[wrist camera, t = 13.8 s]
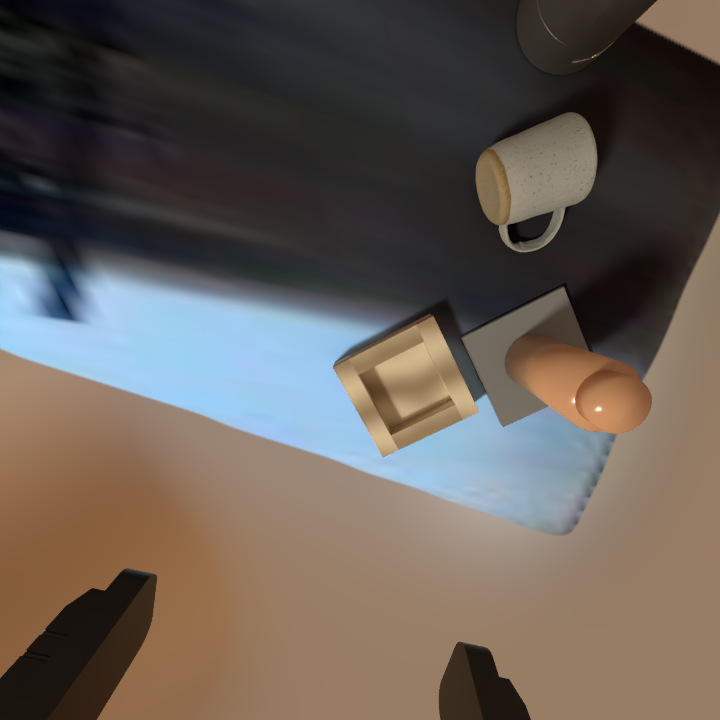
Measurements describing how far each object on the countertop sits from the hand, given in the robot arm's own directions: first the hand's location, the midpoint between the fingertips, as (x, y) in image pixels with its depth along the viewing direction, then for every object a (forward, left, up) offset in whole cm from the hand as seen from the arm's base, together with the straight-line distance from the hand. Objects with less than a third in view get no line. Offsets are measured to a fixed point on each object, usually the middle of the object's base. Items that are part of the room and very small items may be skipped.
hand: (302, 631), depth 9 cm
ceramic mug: (-7, +24, -32) cm, 41 cm away
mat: (+9, +18, -32) cm, 38 cm away
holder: (+5, +4, -32) cm, 33 cm away
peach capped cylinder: (+9, +18, -31) cm, 37 cm away
